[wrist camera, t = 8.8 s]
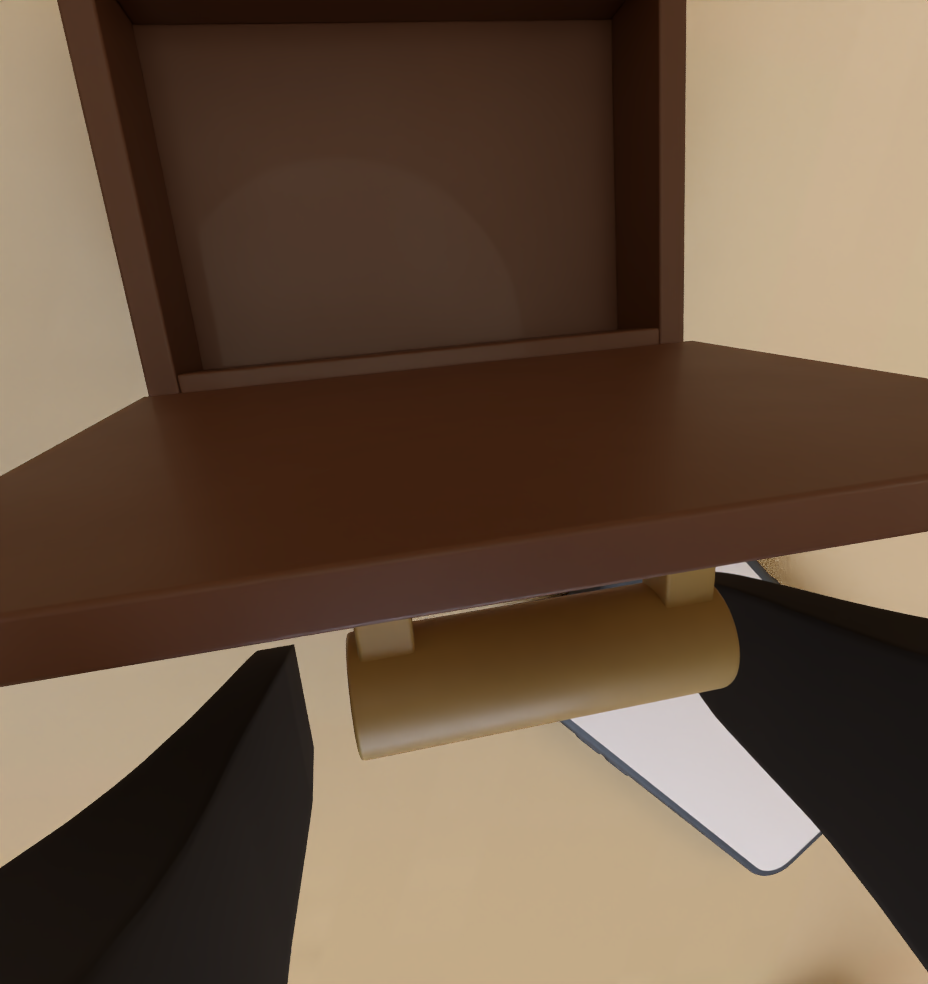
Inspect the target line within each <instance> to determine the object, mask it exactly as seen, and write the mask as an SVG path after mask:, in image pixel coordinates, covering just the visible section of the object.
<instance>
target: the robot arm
mask: <svg viewBox="0 0 928 984" xmlns="http://www.w3.org/2000/svg"><path fill="white" fill-rule="evenodd" d="M714 587H715V588H716V589H717V590H718V592H719V593H720V594H721V596H722V597H723V599H724V601H725V602H726V604H727V606H728V608H729V610H730V613H731V615H732V617H733V620H734V623H735V627H736V630H737V635H738V640H739V647H740V663H739V669H738V672H737V675H736V677H735V679H734V680H733V682H732V683H731V684H729V685H728V686H727V687H724V688H721V689H716V690H711V691H706V692H701V693H699V695H700V696H701V698H702V699H703V701H704V702H705V703H706V705H707V706H708V707H709V709H710V710H711V712H712V713H713V714H714V716H715V717H716V718H717V719H718V720H719V721H720V723H721V724H722V725H723V726H724V727H725V728H726V729H727V730H728V732H729V733H730V734H731V735H732V736H733V737H734V738H735V739H736V740H737V741H738V742H739V744H740V745H741V746H742V747H743V748H744V749H745V750H746V751H747V752H748V753H749V754H750V755H751V757H752V758H753V759H754V760H755V761H756V762H757V763H758V764H759V765H760V766H761V767H762V768H763V769H764V770H765V771H766V773H767V774H768V775H769V776H770V777H771V778H772V779H773V780H774V781H775V782H776V783H777V784H778V785H779V786H780V788H781V789H782V790H783V791H784V792H785V793H786V794H787V795H788V796H789V797H790V798H791V799H792V800H793V801H794V803H795V804H796V805H797V806H798V807H799V808H800V809H801V810H802V811H803V812H804V813H805V814H806V815H807V816H808V818H809V819H810V820H811V821H812V822H813V823H814V824H815V826H816V827H817V828H818V829H819V830H820V831H821V832H822V834H823V835H824V836H825V837H826V838H827V839H828V841H829V842H830V843H831V844H832V845H833V847H834V848H835V849H836V850H837V852H838V853H839V854H840V856H841V857H842V858H843V859H844V861H845V862H846V863H847V865H848V866H849V867H850V868H851V870H852V871H853V872H854V874H855V875H856V876H857V877H858V879H859V880H860V881H861V883H862V884H863V885H864V886H865V888H866V889H867V890H868V892H869V893H870V894H871V896H872V897H873V898H874V899H875V901H876V902H877V903H878V905H879V906H880V907H881V909H882V910H883V911H884V913H885V914H886V916H887V917H888V918H889V920H890V921H891V922H892V924H893V925H894V926H895V928H896V929H897V931H898V932H899V933H900V935H901V936H902V937H903V939H904V940H905V941H906V943H907V944H908V946H909V947H910V948H911V950H912V951H913V952H914V954H915V955H916V956H917V958H918V959H919V961H920V962H921V963H922V965H923V966H924V967H925V969H926V970H927V971H928V618H923V617H917V616H912V615H908V614H903V613H898V612H894V611H889V610H884V609H880V608H875V607H870V606H866V605H862V604H857V603H853V602H849V601H845V600H841V599H836V598H832V597H828V596H824V595H820V594H816V593H812V592H808V591H804V590H800V589H797V588H793V587H789V586H785V585H780V584H776V583H772V582H768V581H764V580H760V579H756V578H751V577H747V576H742V575H737V574H731V573H724V572H715V582H714ZM313 760H314V746H313V741H312V735H311V730H310V725H309V720H308V715H307V709H306V704H305V699H304V694H303V689H302V683H301V678H300V673H299V668H298V663H297V657H296V652H295V647H294V645H288V646H283V647H277V648H271V649H265V650H260V651H256V652H255V653H254V654H253V655H252V656H251V657H250V658H249V659H248V660H247V661H246V662H245V663H244V664H243V665H242V666H241V667H240V668H239V669H238V670H237V671H236V672H235V673H234V674H233V675H232V676H231V677H230V678H229V679H228V680H227V682H226V683H225V684H224V685H223V686H222V687H221V688H220V689H219V690H218V691H217V692H216V693H215V694H214V695H213V696H212V697H211V698H210V699H209V700H208V701H207V702H206V703H205V704H204V705H203V706H202V707H201V708H200V709H199V710H198V711H197V712H196V713H195V714H194V715H193V716H192V717H191V718H190V719H189V720H188V721H187V722H186V723H185V724H184V725H183V726H181V727H180V728H179V729H178V730H177V731H176V732H175V733H174V734H173V735H172V736H171V737H170V738H168V739H167V740H166V741H165V742H164V743H163V744H162V745H161V746H160V747H159V748H158V749H157V750H155V751H154V752H153V753H152V754H151V755H150V756H149V757H148V758H147V759H146V760H145V761H143V762H142V763H141V764H140V765H139V766H138V767H136V768H135V769H134V770H133V771H132V772H131V773H129V774H128V775H127V776H126V777H125V778H123V779H122V780H121V781H120V782H118V783H117V784H116V785H115V786H114V787H112V788H111V789H110V790H109V791H107V792H106V793H105V794H103V795H102V796H101V797H99V798H98V799H97V800H96V801H94V802H93V803H92V804H90V805H89V806H88V807H87V808H85V809H84V810H83V811H81V812H80V813H79V814H78V815H76V816H75V817H73V818H72V819H71V820H69V821H68V822H67V823H65V824H64V825H63V826H61V827H60V828H58V829H57V830H55V831H54V832H52V833H51V834H49V835H48V836H46V837H45V838H44V839H42V840H41V841H39V842H38V843H36V844H35V845H33V846H32V847H30V848H29V849H27V850H26V851H25V852H23V853H22V854H20V855H19V856H17V857H16V858H14V859H13V860H11V861H10V862H8V863H7V864H6V865H4V866H3V867H1V868H0V984H287V982H288V973H289V964H290V955H291V946H292V940H293V933H294V926H295V919H296V913H297V906H298V899H299V893H300V886H301V879H302V872H303V866H304V859H305V852H306V845H307V838H308V832H309V825H310V818H311V810H312V801H313Z"/></svg>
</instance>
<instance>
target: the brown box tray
mask: <svg viewBox="0 0 928 984" xmlns="http://www.w3.org/2000/svg"><path fill="white" fill-rule="evenodd" d="M57 2H58V6H59V11H60V15H61V19H62V23H63V28H64V32H65V36H66V41H67V45H68V49H69V54H70V58H71V62H72V67H73V71H74V75H75V79H76V84H77V88H78V92H79V97H80V101H81V105H82V110H83V114H84V118H85V123H86V127H87V131H88V135H89V140H90V144H91V148H92V153H93V157H94V161H95V166H96V170H97V174H98V178H99V183H100V187H101V191H102V196H103V200H104V204H105V209H106V213H107V217H108V222H109V226H110V230H111V234H112V239H113V243H114V247H115V252H116V256H117V260H118V265H119V269H120V273H121V278H122V282H123V286H124V290H125V295H126V299H127V303H128V308H129V312H130V316H131V321H132V325H133V329H134V333H135V338H136V342H137V346H138V351H139V355H140V359H141V364H142V368H143V372H144V377H145V381H146V385H147V389H148V394H149V396H159V395H169V394H178V393H188V392H198V391H208V390H217V389H227V388H237V387H247V386H256V385H266V384H276V383H286V382H295V381H305V380H315V379H325V378H334V377H344V376H354V375H364V374H373V373H383V372H393V371H403V370H412V369H422V368H432V367H442V366H451V365H461V364H471V363H480V362H490V361H500V360H510V359H519V358H529V357H539V356H549V355H558V354H568V353H578V352H588V351H597V350H607V349H617V348H627V347H636V346H646V345H656V344H666V343H675V342H683V314H684V198H685V83H686V0H57Z"/></svg>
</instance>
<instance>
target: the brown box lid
mask: <svg viewBox="0 0 928 984" xmlns="http://www.w3.org/2000/svg"><path fill="white" fill-rule="evenodd" d="M927 531H928V379H927V378H921V377H914V376H908V375H902V374H896V373H889V372H883V371H877V370H871V369H864V368H858V367H852V366H846V365H839V364H833V363H827V362H821V361H814V360H808V359H802V358H796V357H789V356H783V355H777V354H771V353H764V352H758V351H752V350H746V349H739V348H733V347H727V346H720V345H714V344H708V343H702V342H695V341H685V342H675V343H666V344H656V345H646V346H636V347H627V348H617V349H607V350H597V351H588V352H578V353H568V354H558V355H549V356H539V357H529V358H519V359H510V360H500V361H490V362H480V363H471V364H461V365H451V366H442V367H432V368H422V369H412V370H403V371H393V372H383V373H373V374H364V375H354V376H344V377H334V378H325V379H315V380H305V381H295V382H286V383H276V384H266V385H256V386H247V387H237V388H227V389H217V390H208V391H198V392H188V393H178V394H169V395H159V396H149V397H143V398H141V399H140V400H138V401H136V402H134V403H132V404H131V405H129V406H127V407H125V408H123V409H121V410H120V411H118V412H116V413H114V414H112V415H111V416H109V417H107V418H105V419H103V420H102V421H100V422H98V423H96V424H94V425H92V426H91V427H89V428H87V429H85V430H83V431H82V432H80V433H78V434H76V435H74V436H73V437H71V438H69V439H67V440H65V441H63V442H62V443H60V444H58V445H56V446H54V447H53V448H51V449H49V450H47V451H45V452H44V453H42V454H40V455H38V456H36V457H35V458H33V459H31V460H29V461H27V462H25V463H24V464H22V465H20V466H18V467H16V468H15V469H13V470H11V471H9V472H7V473H6V474H4V475H2V476H0V687H3V686H9V685H15V684H21V683H27V682H33V681H39V680H45V679H51V678H57V677H63V676H69V675H75V674H81V673H86V672H92V671H98V670H104V669H110V668H116V667H122V666H128V665H134V664H140V663H146V662H152V661H158V660H164V659H170V658H176V657H182V656H188V655H194V654H200V653H206V652H212V651H218V650H224V649H230V648H236V647H241V646H247V645H253V644H259V643H265V642H271V641H277V640H283V639H289V638H295V637H301V636H307V635H313V634H319V633H325V632H331V631H337V630H343V629H349V628H354V631H353V632H350V633H348V634H347V638H346V660H347V674H348V686H349V695H350V704H351V712H352V719H353V726H354V732H355V738H356V743H357V748H358V752H359V755H360V757H361V759H362V760H370V759H375V758H380V757H385V756H390V755H395V754H400V753H405V752H410V751H415V750H420V749H425V748H430V747H435V746H439V745H444V744H449V743H454V742H459V741H464V740H469V739H474V738H479V737H484V736H489V735H494V734H499V733H504V732H509V731H513V730H518V729H523V728H528V727H533V726H538V725H543V724H548V723H553V722H558V721H563V720H568V719H573V718H578V717H583V716H587V715H592V714H597V713H602V712H607V711H612V710H617V709H622V708H627V707H632V706H637V705H642V704H647V703H652V702H657V701H661V700H666V699H671V698H676V697H681V696H686V695H691V694H696V693H701V692H706V691H711V690H716V689H721V688H724V687H727V686H728V685H729V684H731V683H732V682H733V680H734V679H735V677H736V675H737V672H738V669H739V663H740V647H739V640H738V635H737V630H736V627H735V623H734V620H733V617H732V615H731V613H730V610H729V608H728V606H727V604H726V602H725V601H724V599H723V597H722V596H721V594H720V593H719V592H718V590H717V589H716V588H715V587H714V582H715V570H716V567H718V566H724V565H730V564H736V563H742V562H748V561H754V560H760V559H766V558H772V557H778V556H784V555H790V554H796V553H802V552H808V551H814V550H820V549H826V548H832V547H838V546H844V545H850V544H855V543H861V542H867V541H873V540H879V539H885V538H891V537H897V536H903V535H909V534H915V533H921V532H927ZM641 579H643V580H642V583H637V584H632V585H626V586H620V587H614V588H608V589H602V590H596V591H590V592H584V593H578V594H572V595H566V596H560V597H554V598H549V599H543V600H537V601H531V602H525V603H519V604H513V605H507V606H501V607H495V608H489V609H483V610H477V611H471V612H466V613H460V614H454V615H448V616H442V617H436V618H430V619H424V620H418V621H412V618H414V617H420V616H426V615H432V614H438V613H444V612H450V611H456V610H462V609H468V608H474V607H480V606H486V605H492V604H498V603H504V602H510V601H516V600H522V599H528V598H534V597H540V596H545V595H551V594H557V593H563V592H569V591H575V590H581V589H587V588H593V587H599V586H605V585H611V584H617V583H623V582H629V581H635V580H641Z"/></svg>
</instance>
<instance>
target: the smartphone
mask: <svg viewBox="0 0 928 984" xmlns="http://www.w3.org/2000/svg"><path fill="white" fill-rule="evenodd" d="M715 572H724V573H731V574H737V575H742V576H747V577H751V578H756V579H760V580H764V581H768V582H772V583H776V584H780V583H779V582H778V581H777V580H776V579H774V578H773V577H771V576H770V575H769V574H768V573H767V572H766V571H765V569H764V568H763V567H762V566H761V565H760V564H759V563H758V562H757V561H756V560H754V561H748V562H742V563H736V564H730V565H724V566H718V567H716V570H715ZM642 580H643V579H641V580H635V581H629V582H623V583H617V584H611V585H605V586H599V587H593V588H587V589H581V590H575V591H570V592H569V593H568V594H567V595H572V594H578V593H584V592H590V591H596V590H602V589H608V588H614V587H620V586H626V585H632V584H637V583H642ZM780 585H781V584H780ZM560 722H561V723H562V724H564V725H565V726H566V727H567V728H569V729H570V730H571V731H572V732H574V733H575V734H576V736H577V737H578V738H579V739H580V740H582V741H583V742H584V743H585V744H587V745H588V746H589V747H590V748H592V749H593V750H594V751H596V752H597V753H598V754H602V755H603V756H604V757H605V759H606V760H607V761H608V762H610V763H611V764H612V765H613V766H615V767H616V768H617V769H619V770H620V771H621V772H622V773H624V774H625V775H627V776H630V777H631V778H632V779H633V780H635V781H636V782H637V783H639V784H640V785H641V786H642V787H644V788H645V789H646V790H647V791H649V792H650V793H651V794H653V795H654V796H655V797H656V798H658V799H659V800H660V801H661V802H663V803H664V804H665V805H666V806H668V807H669V808H670V809H672V810H673V811H674V812H675V813H677V814H678V815H679V816H680V817H682V818H683V819H684V820H686V821H687V822H688V823H689V824H691V825H692V826H693V827H694V828H696V829H697V830H698V831H700V832H701V833H702V834H703V835H705V836H706V837H707V838H708V839H710V840H711V841H712V842H714V843H715V844H716V845H717V846H719V847H720V848H721V849H722V850H724V851H725V852H726V853H728V854H729V855H730V856H731V857H733V858H734V859H735V860H736V861H738V862H739V863H740V864H741V865H743V866H744V867H745V868H747V869H748V870H749V871H750V872H752V873H754V874H757V875H760V876H768V875H773V874H776V873H778V872H781V871H782V870H784V869H786V868H787V867H788V866H789V865H790V864H792V863H793V862H794V861H795V860H796V859H797V858H798V857H799V856H800V855H801V854H802V853H803V852H804V851H805V850H806V849H807V848H808V847H809V846H810V845H811V844H812V843H813V842H815V841H816V840H817V839H818V838H819V837H820V836H821V835H822V832H821V831H820V830H819V829H818V828H817V827H816V826H815V824H814V823H813V822H812V821H811V820H810V819H809V818H808V816H807V815H806V814H805V813H804V812H803V811H802V810H801V809H800V808H799V807H798V806H797V805H796V804H795V803H794V801H793V800H792V799H791V798H790V797H789V796H788V795H787V794H786V793H785V792H784V791H783V790H782V789H781V788H780V786H779V785H778V784H777V783H776V782H775V781H774V780H773V779H772V778H771V777H770V776H769V775H768V774H767V773H766V771H765V770H764V769H763V768H762V767H761V766H760V765H759V764H758V763H757V762H756V761H755V760H754V759H753V758H752V757H751V755H750V754H749V753H748V752H747V751H746V750H745V749H744V748H743V747H742V746H741V745H740V744H739V742H738V741H737V740H736V739H735V738H734V737H733V736H732V735H731V734H730V733H729V732H728V730H727V729H726V728H725V727H724V726H723V725H722V724H721V723H720V721H719V720H718V719H717V718H716V717H715V716H714V714H713V713H712V712H711V710H710V709H709V707H708V706H707V705H706V703H705V702H704V701H703V699H702V698H701V696H700V695H699V693H696V694H691V695H686V696H681V697H676V698H671V699H666V700H661V701H657V702H652V703H647V704H642V705H637V706H632V707H627V708H622V709H617V710H612V711H607V712H602V713H597V714H592V715H587V716H583V717H578V718H573V719H568V720H563V721H560Z"/></svg>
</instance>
